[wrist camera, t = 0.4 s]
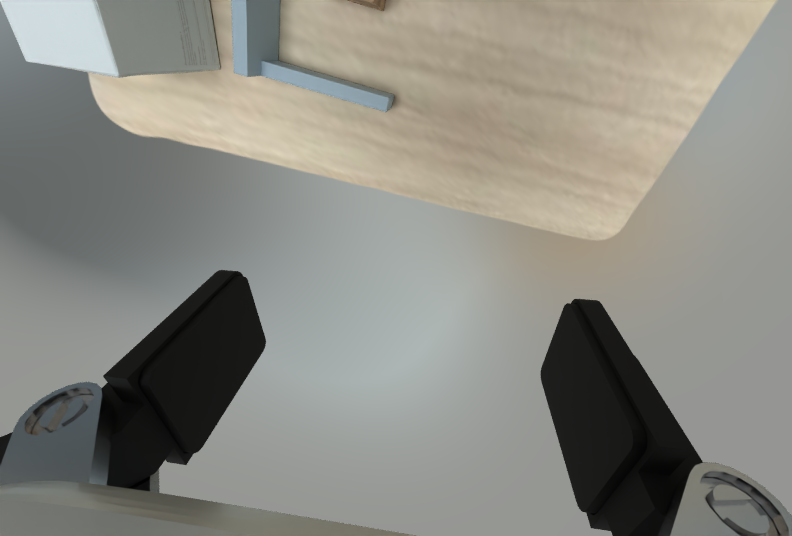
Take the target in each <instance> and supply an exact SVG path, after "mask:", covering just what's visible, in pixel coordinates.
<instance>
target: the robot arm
mask: <svg viewBox="0 0 792 536" xmlns="http://www.w3.org/2000/svg"><path fill="white" fill-rule="evenodd" d="M265 344H266V339H265V336H264V332H263V329H262V326H261V323H260V319H259V316H258V313H257V309H256V306H255V303H254V299H253V296H252V293H251V290H250V286H249V283H248V280H247V278H246V277H243V275H242V274H241V273H240V272H238V271H227V270H226V271H225V270H219V271H217V272H216V273H215V274H214V275H213V276H212V277H210V278H209V279H208V280H207V281H206V282H205V283H204V284H203V285H202V286H201V287H200V288H198V289H197V290H196V291H195V292H194V293H193V294H192V295H191V296H190V297H189V298H188V299H186V301H184V302H183V303H182V304H181V305H180V306H179V307H178V308H177V309H176V310H174V311H173V312H172V313H171V314H170V315H169V316H168V317H167V318H166V319H165V320H164V321H162V323H160V324H159V325H158V326H157V327H156V328H155V329H154V330H153V331H152V332H150V333H149V334H148V335H147V336H146V337H145V338H144V339H143V340H142V341H141V342H140V343H139V344H137V345H136V346H135V347H134V348H133V349H132V350H131V351H130V352H129V353H128V354H126V355H125V356H124V357H123V358H122V359H121V360H120V361H119V362H118V363H117V364H116V365H115V366H113V367H112V368H111V369H110V370H109V371H108V372H107V373H106V374H105V375H104V378H105V379H106V381H107V382H108V383H107V384H106V385H105V386H104V387H103V388H101V387H100V386H99V385H98V384H96V383H91V382H83V383H76V384H72V385H68V386H66V387H64V388H61V389H58V390H56V391H54V392H52V393H51V394H49V395H47V396H45V397H43V398H42V399H40V400H39V401H38V402H37V403H35V404H34V405H32V406H31V407H30V408H29V409H28V410H27V411H26V412H25V413H24V414H23V415H22V416H21V417H20V419H19V420H18V422H17V424H16V426H15V428H14V430H13V432H12V433H9V434H7V435H5V436H2V437H0V536H416V535H409V534H404V533H398V532H392V531H386V530H380V529H374V528H368V527H363V526H357V525H351V524H344V523H338V522H333V521H326V520H321V519H315V518H309V517H302V516H297V515H291V514H285V513H279V512H273V511H267V510H261V509H255V508H248V507H242V506H236V505H230V504H223V503H217V502H212V501H205V500H199V499H193V498H187V497H181V496H175V495H168V494H162V493H159V467H160V466H161V465H162V463H163V462H164V460H166V461H167V462H170V463H177V464H183V465H186V464H187V463H188V461H189V460H190V458H191V457H192V455H193V454H194V453H196V452H198V451H199V450H200V449H201V448H202V447H203V445H204V444H205V442H206V441H207V439H208V437H209V436H210V434H211V432H212V431H213V429H214V428H215V426H216V425H217V423H218V422H219V420H220V418H221V417H222V415H223V414H224V412H225V411H226V409H227V407H228V406H229V404H230V403H231V401H232V400H233V398H234V396H235V395H236V393H237V392H238V390H239V388H240V387H241V385H242V384H243V382H244V381H245V379H246V377H247V376H248V374H249V373H250V371H251V370H252V368H253V366H254V364H255V363H256V362H257V360H258V358H259V357H260V355H261V354H262V352H263V350H264V348H265ZM541 381H542V385H543V388H544V391H545V395H546V399H547V402H548V405H549V409H550V412H551V416H552V419H553V423H554V426H555V429H556V433H557V436H558V440H559V443H560V447H561V450H562V454H563V457H564V461H565V464H566V467H567V471H568V474H569V478H570V481H571V484H572V488H573V492H574V495H575V498H576V502H577V504H578V507H579V509H580V510H581V511H582V512H586V513H587V516H588V520H589V523H590V526H591V528H594V529H601V530H608V531H611V532H612V535H613V536H792V516H791V514H790V513H789V512H788V511H787V510H786V508H785V507H784V506H783V505H782V503H781V502H780V501H779V500H778V499H777V498H776V497H774V496H773V495H772V494H771V493H770V492H769V491H768V490H767V489H765V487H763V486H762V485H760V484H759V483H757V482H756V481H754V480H753V479H752V478H750V477H749V476H747V475H745V474H743V473H741V472H739V471H737V470H735V469H733V468H731V467H728V466H725V465H722V464H718V463H708V462H702V460H701V458H700V457H699V455H698V454H697V452H696V451H695V449H694V447H693V446H692V444H691V443H690V441H689V439H688V438H687V436H686V435H685V433H684V432H683V430H682V428H681V427H680V425H679V424H678V422H677V421H676V419H675V417H674V416H673V414H672V413H671V411H670V409H669V408H668V406H667V405H666V403H665V402H664V400H663V399H662V397H661V395H660V394H659V392H658V390H657V389H656V387H655V386H654V384H653V383H652V381H651V379H650V378H649V376H648V375H647V373H646V372H645V370H644V368H643V367H642V365H641V364H640V362H639V361H638V359H637V358H636V357H635V356H634V355H633V353H632V352H631V350H630V349H629V347H628V345H627V344H626V342H625V341H624V339H623V337H622V336H621V334H620V333H619V331H618V329H617V328H616V326H615V325H614V323H613V321H612V320H611V318H610V317H609V315H608V314H607V312H606V310H605V309H604V307H603V306H602V304H601V303H600V302H599V301H597V300H585V299H574V300H573V301H572V303H571V304H568V303H567V304H566V305H565V306H564V308H563V311H562V314H561V316H560V319H559V322H558V324H557V327H556V330H555V333H554V335H553V338H552V341H551V343H550V346H549V349H548V352H547V354H546V357H545V360H544V362H543V365H542V368H541Z"/></svg>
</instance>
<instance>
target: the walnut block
mask: <svg viewBox="0 0 792 536" xmlns="http://www.w3.org/2000/svg"><path fill="white" fill-rule="evenodd" d="M348 1H351V2H354V3H358V4H361V5H365V6H368V7H371V8H375V9H378V10H381V11H384V6H385V0H348Z"/></svg>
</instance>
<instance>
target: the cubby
mask: <svg viewBox="0 0 792 536" xmlns="http://www.w3.org/2000/svg"><path fill="white" fill-rule="evenodd" d="M231 6H232V34H233V62H234V73H236V74H240V75H243V76H246V77H251V76H264V77H267V78H271V79H274V80H278V81H281V82H285V83H288V84H292V85H295V86H298V87H302V88H305V89H309V90H312V91H316V92H319V93H322V94H326V95H329V96H333V97H336V98H340V99H343V100H346V101H350V102H353V103H357V104H360V105H364V106H367V107H371V108H374V109H377V110H381V111H384V112H387V111H388V110H389V109H390V108H391V107H392V103H393V98H394V95H393V94H390V93H387V92H383V91H380V90H376V89H373V88H370V87H366V86H363V85H359V84H356V83H352V82H349V81H346V80H342V79H339V78H335V77H332V76H328V75H325V74H322V73H318V72H315V71H311V70H308V69H305V68H301V67H298V66H294V65H291V64H287V63H284V62H281V61H278V57H279V25H280V0H231Z"/></svg>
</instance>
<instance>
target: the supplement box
mask: <svg viewBox="0 0 792 536" xmlns="http://www.w3.org/2000/svg"><path fill="white" fill-rule="evenodd" d="M0 2H1V4H2V7H3V9H4V11H5V14H6V16H7V18H8V20H9V23H10V25H11V27H12V29H13V32H14V34H15V36H16V39H17V41H18V43H19V46H20V48H21V50H22V52H23V55H24V57H25V60H26V61H27V62H34V63H40V64H45V65H51V66H57V67H62V68H69V69H73V70H79V71H85V72H90V73H95V74H101V75H106V76H112V77H117V78H120V77H127V76H135V75H151V74H166V73H185V72H199V71H210V70H219V69H220V64H219V58H218V51H217V45H216V39H215V33H214V27H213V20H212V14H211V8H210V2H209V0H0Z"/></svg>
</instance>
